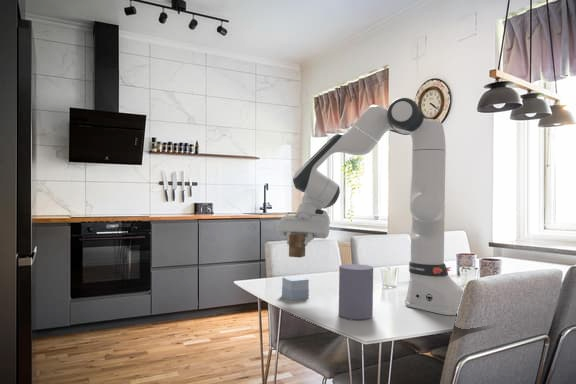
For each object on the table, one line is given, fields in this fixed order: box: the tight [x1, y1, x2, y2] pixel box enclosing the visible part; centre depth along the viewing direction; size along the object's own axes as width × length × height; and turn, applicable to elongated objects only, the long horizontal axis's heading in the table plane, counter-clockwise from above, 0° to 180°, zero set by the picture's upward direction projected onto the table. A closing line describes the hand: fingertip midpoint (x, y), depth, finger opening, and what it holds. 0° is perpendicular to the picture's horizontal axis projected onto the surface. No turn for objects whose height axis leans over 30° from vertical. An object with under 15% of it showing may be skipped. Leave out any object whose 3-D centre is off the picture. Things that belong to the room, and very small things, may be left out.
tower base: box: [281, 286, 310, 301], centre depth 154 cm, size 7×7×4 cm
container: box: [338, 263, 374, 321], centre depth 131 cm, size 10×10×15 cm
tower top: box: [281, 275, 310, 291], centre depth 154 cm, size 7×7×4 cm
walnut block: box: [288, 233, 306, 258], centre depth 154 cm, size 4×4×8 cm
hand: (296, 244), depth 154 cm, fingers closed on walnut block, 4 cm apart
